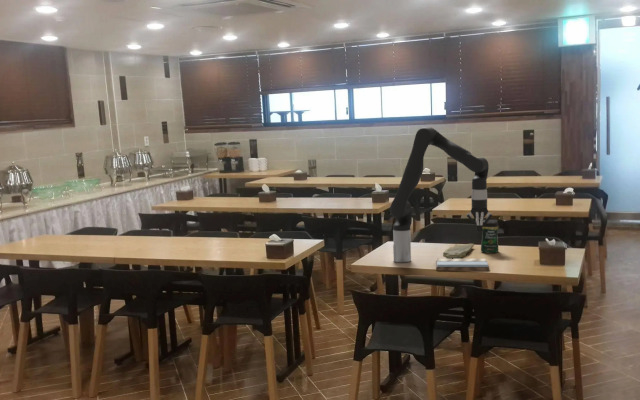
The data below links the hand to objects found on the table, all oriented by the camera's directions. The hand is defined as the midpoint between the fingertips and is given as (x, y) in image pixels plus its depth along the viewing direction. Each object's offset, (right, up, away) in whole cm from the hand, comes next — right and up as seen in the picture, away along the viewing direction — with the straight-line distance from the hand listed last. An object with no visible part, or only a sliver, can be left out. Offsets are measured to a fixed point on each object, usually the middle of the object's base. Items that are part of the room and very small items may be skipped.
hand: (479, 232), depth 307 cm
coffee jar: (+16, -13, +41) cm, 46 cm away
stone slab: (-1, -14, +42) cm, 45 cm away
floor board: (-7, -18, +9) cm, 22 cm away
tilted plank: (-7, -17, +6) cm, 19 cm away
